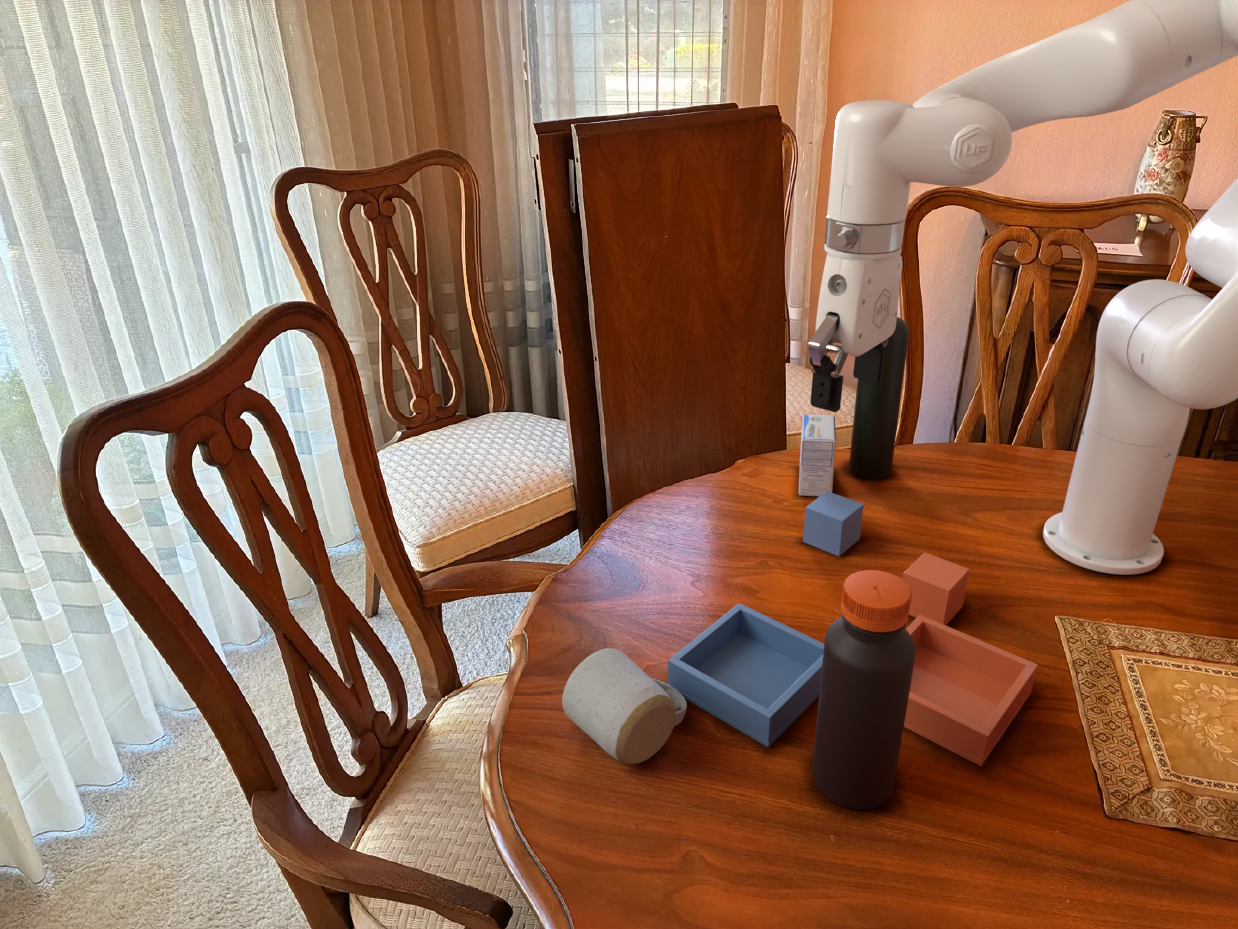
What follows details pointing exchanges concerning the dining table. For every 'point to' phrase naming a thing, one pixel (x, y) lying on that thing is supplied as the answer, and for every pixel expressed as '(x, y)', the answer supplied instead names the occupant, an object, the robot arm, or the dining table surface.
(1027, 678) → the terracotta bin
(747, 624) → the blue bin
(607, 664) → the ceramic mug
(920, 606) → the terracotta block
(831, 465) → the medicine box
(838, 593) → the dining table surface
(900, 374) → the wine bottle
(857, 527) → the blue block
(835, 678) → the black bottle
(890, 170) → the robot arm
